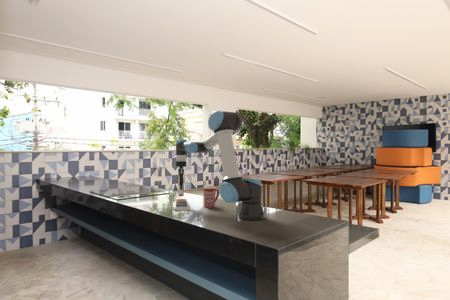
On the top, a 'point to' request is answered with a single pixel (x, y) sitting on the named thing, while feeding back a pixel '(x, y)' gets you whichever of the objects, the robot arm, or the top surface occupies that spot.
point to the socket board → (181, 204)
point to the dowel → (178, 188)
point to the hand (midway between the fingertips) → (181, 193)
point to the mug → (210, 196)
